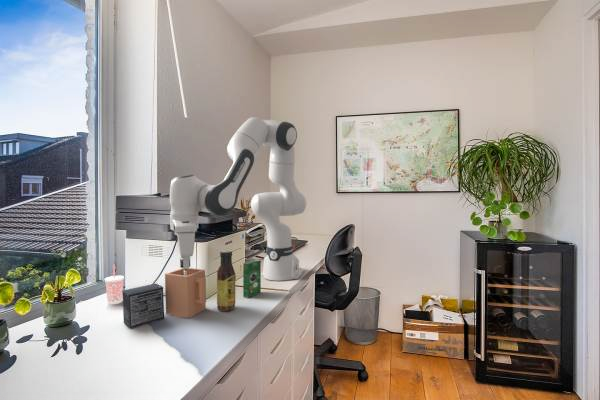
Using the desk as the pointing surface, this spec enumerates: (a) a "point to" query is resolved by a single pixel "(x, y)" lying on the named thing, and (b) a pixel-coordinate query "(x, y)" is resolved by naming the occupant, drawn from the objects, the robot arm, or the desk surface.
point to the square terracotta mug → (185, 292)
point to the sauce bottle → (226, 283)
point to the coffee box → (251, 278)
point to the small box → (143, 305)
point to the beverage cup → (114, 288)
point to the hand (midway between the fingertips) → (185, 264)
